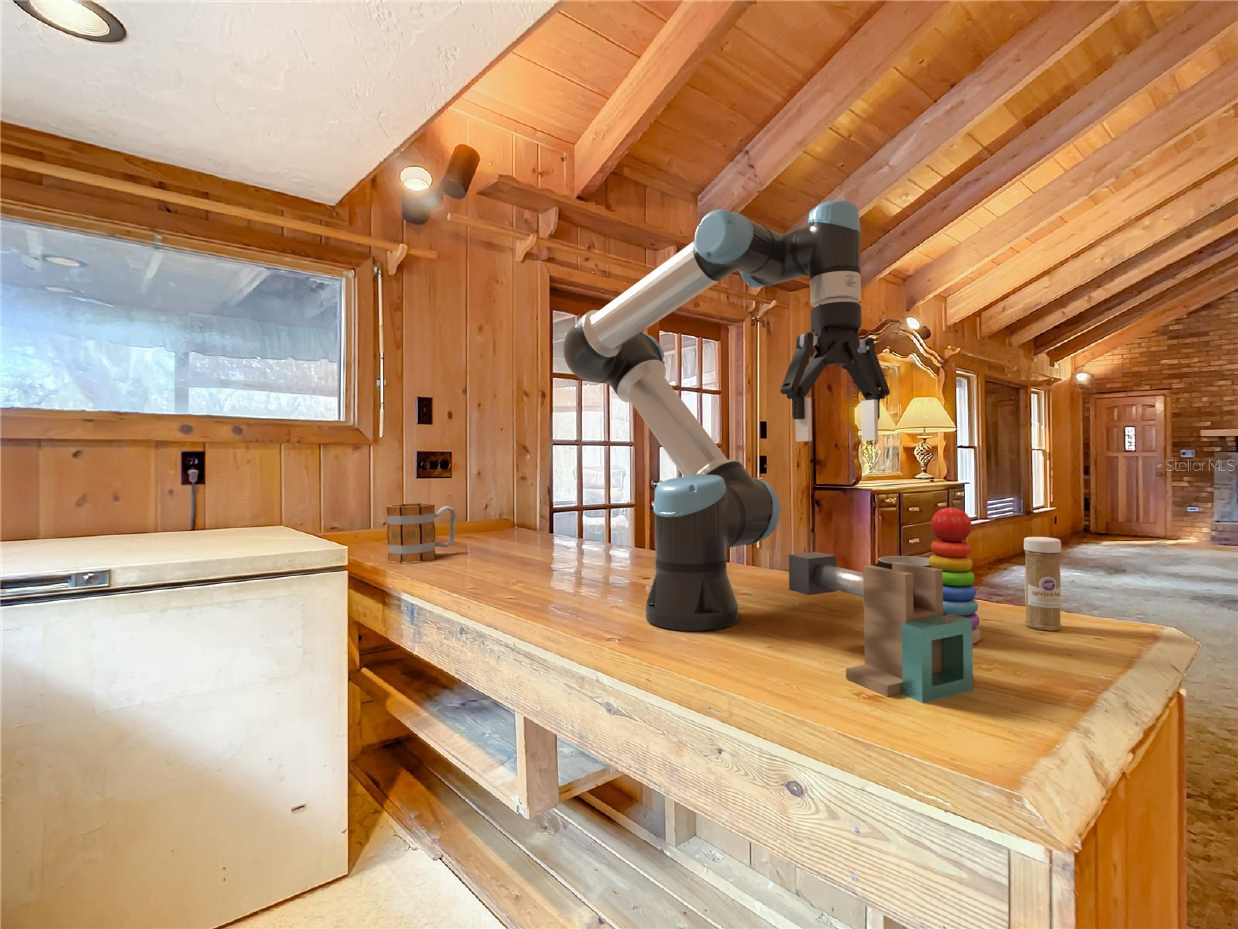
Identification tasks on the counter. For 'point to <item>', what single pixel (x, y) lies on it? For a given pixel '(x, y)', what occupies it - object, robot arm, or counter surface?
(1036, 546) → the sprinkles bottle
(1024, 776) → the counter surface
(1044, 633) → the counter surface
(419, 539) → the mug
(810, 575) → the shaft
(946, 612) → the stacking toy
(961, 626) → the spacer
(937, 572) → the bearing block
